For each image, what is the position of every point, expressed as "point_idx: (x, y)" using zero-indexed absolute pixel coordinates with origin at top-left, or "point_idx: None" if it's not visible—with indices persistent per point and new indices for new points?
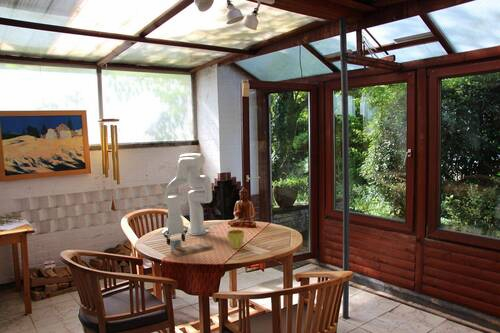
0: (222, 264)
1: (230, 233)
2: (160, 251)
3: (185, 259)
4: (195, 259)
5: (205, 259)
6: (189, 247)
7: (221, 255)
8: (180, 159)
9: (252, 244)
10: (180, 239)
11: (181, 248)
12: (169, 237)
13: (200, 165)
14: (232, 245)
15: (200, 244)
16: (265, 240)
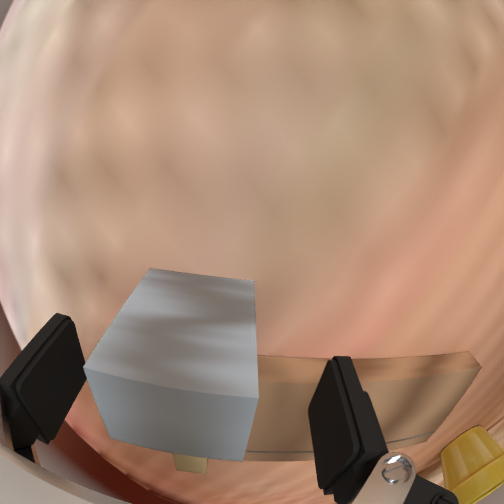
0: None
1: (500, 469)
2: (56, 185)
3: (158, 467)
4: (201, 487)
5: (237, 500)
6: (302, 418)
7: (325, 496)
8: None
9: (495, 431)
10: (243, 455)
11: (175, 458)
12: (35, 453)
13: None
14: (443, 462)
15: (427, 393)
16: None
